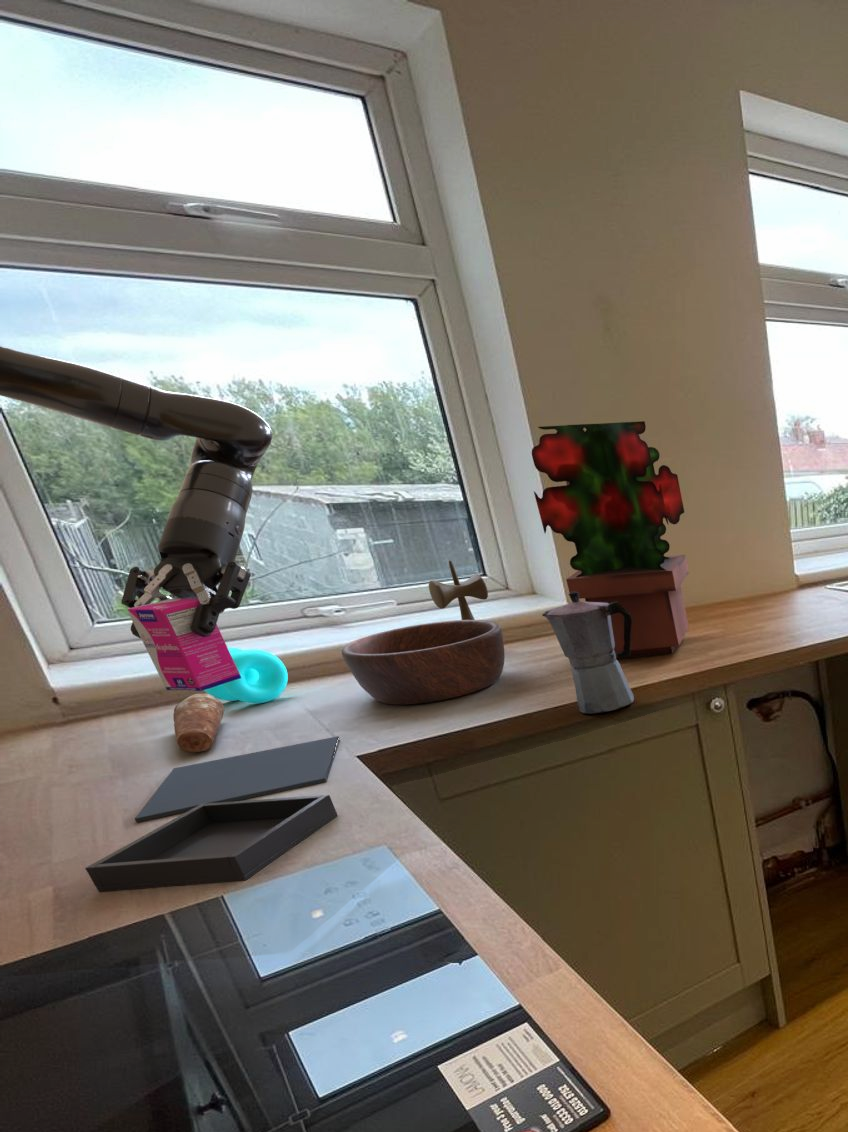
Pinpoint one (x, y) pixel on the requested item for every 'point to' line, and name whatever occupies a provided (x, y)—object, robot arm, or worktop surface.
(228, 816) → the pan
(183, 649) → the supplement box
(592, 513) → the potted plant
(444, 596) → the kendama
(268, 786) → the mat
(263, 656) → the donuts
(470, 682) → the wooden bowl
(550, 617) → the moka pot
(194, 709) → the bread
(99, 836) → the worktop surface
